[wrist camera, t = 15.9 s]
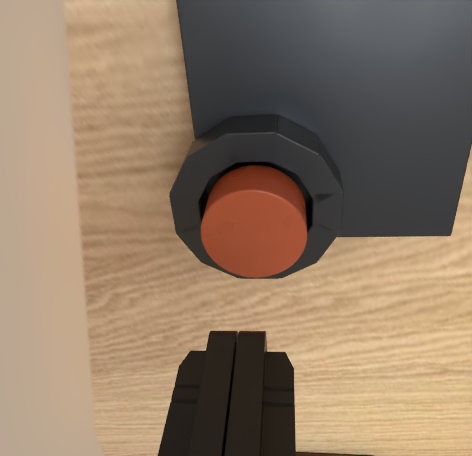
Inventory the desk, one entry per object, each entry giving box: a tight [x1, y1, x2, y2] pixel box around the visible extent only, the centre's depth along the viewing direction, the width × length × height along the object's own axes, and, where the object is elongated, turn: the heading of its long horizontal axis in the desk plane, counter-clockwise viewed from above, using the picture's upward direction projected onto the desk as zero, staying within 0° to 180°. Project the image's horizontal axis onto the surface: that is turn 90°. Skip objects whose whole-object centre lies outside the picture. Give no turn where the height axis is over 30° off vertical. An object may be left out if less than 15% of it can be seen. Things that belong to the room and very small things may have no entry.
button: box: [200, 165, 307, 277], centre depth 18 cm, size 4×4×2 cm
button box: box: [170, 0, 472, 279], centre depth 18 cm, size 12×12×4 cm
